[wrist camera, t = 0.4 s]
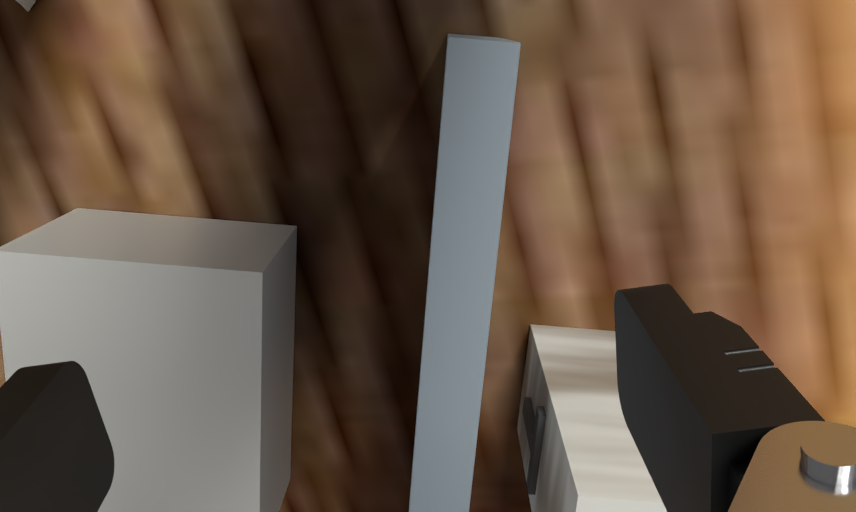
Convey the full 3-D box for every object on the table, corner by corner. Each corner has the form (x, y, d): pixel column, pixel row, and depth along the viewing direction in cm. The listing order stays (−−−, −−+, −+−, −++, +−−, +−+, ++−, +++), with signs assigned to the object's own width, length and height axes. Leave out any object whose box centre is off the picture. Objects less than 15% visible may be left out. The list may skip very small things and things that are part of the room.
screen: (447, 33, 28) (448, 36, 20) (500, 37, 28) (520, 43, 20) (404, 561, 35) (392, 709, 28) (446, 564, 35) (446, 713, 28)
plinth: (77, 208, 30) (-8, 250, 25) (297, 225, 30) (262, 272, 25) (94, 462, 34) (23, 551, 28) (290, 478, 34) (258, 570, 28)
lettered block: (524, 323, 32) (568, 494, 20) (647, 333, 32) (762, 510, 20) (511, 428, 33) (545, 642, 22) (629, 437, 33) (726, 657, 22)
